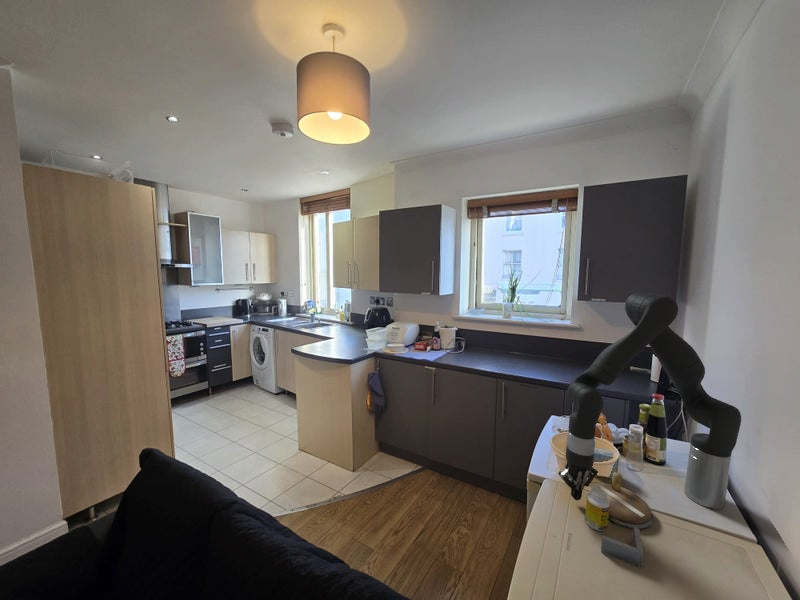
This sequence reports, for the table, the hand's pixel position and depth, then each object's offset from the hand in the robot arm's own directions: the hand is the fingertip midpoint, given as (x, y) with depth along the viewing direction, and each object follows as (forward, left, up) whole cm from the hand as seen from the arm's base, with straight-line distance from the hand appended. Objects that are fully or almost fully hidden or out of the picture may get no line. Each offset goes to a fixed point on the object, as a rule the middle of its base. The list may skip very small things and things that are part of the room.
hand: (576, 498), depth 99 cm
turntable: (-12, +5, -1) cm, 13 cm away
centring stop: (0, +19, -2) cm, 19 cm away
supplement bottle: (0, +8, -2) cm, 8 cm away
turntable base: (-12, +5, -2) cm, 13 cm away
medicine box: (-20, -9, -2) cm, 22 cm away
